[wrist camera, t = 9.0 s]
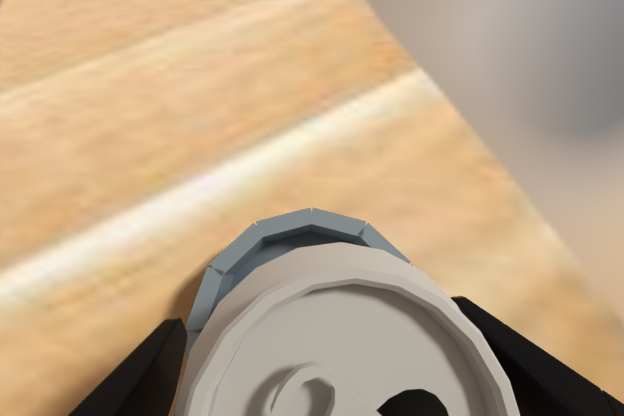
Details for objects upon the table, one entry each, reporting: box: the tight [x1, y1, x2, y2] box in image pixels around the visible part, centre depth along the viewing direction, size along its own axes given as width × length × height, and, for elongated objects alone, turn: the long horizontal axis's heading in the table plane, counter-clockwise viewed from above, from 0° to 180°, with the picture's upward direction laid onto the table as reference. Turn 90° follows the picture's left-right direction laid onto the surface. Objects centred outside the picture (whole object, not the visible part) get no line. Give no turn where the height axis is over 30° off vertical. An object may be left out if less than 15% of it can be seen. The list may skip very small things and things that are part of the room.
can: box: [174, 242, 520, 416], centre depth 10 cm, size 8×8×12 cm
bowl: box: [185, 208, 413, 361], centre depth 15 cm, size 13×13×4 cm
